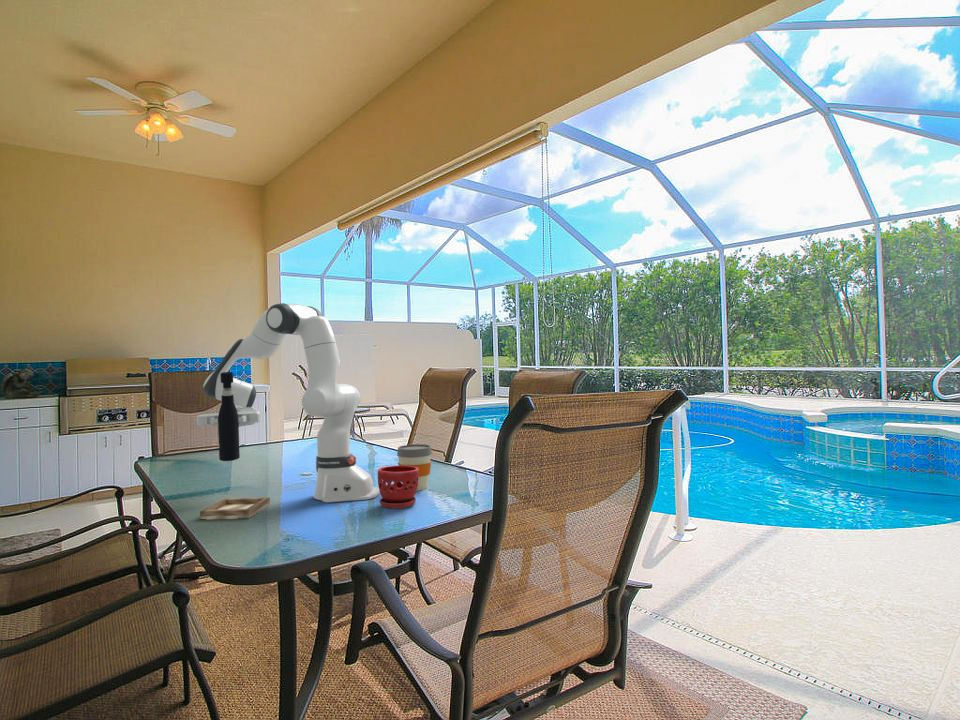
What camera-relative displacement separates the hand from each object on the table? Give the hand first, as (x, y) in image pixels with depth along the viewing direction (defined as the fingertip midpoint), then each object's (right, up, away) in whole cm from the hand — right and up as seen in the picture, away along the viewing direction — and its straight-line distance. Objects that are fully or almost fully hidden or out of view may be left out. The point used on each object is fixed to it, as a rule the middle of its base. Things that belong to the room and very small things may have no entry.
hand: (228, 420), depth 179 cm
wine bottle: (-1, -14, +2) cm, 14 cm away
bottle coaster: (+9, -27, -13) cm, 32 cm away
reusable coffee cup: (+63, -26, +13) cm, 69 cm away
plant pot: (+60, -26, -10) cm, 66 cm away
